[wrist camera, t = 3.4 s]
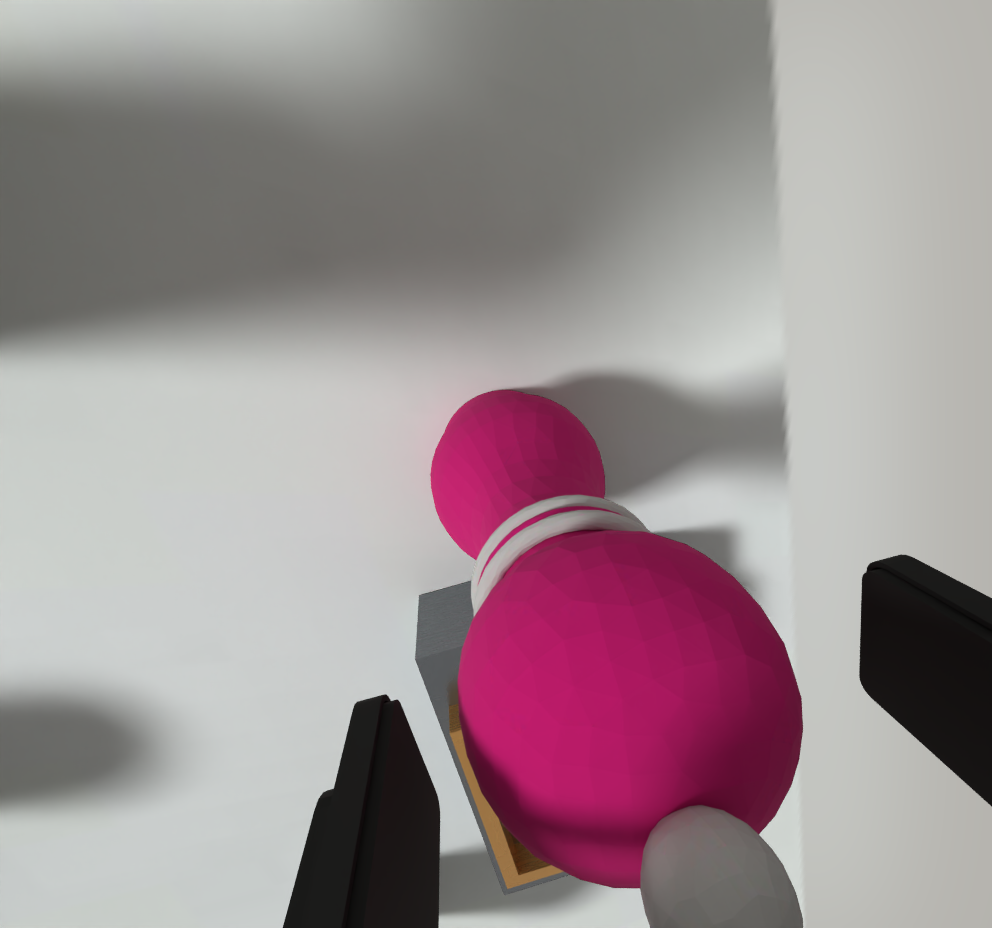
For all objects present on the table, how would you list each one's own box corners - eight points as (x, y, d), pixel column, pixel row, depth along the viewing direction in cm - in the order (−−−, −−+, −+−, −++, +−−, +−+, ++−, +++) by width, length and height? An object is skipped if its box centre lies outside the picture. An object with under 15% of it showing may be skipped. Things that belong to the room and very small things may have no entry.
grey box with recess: (419, 595, 26) (413, 684, 20) (639, 533, 26) (702, 601, 20) (504, 836, 33) (519, 957, 27) (676, 783, 33) (731, 890, 27)
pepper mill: (571, 375, 23) (1216, 677, 4) (569, 508, 25) (969, 1098, 6) (426, 383, 22) (364, 802, 3) (437, 519, 24) (440, 1228, 6)
